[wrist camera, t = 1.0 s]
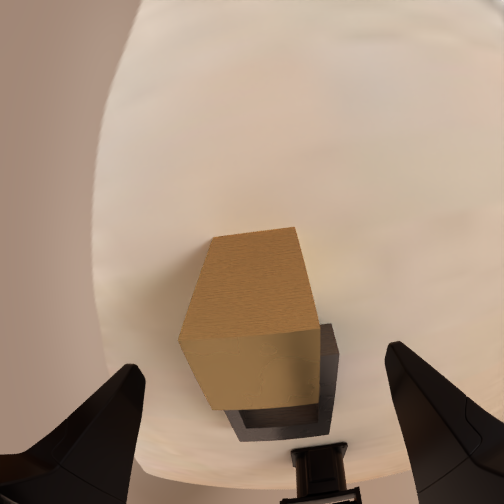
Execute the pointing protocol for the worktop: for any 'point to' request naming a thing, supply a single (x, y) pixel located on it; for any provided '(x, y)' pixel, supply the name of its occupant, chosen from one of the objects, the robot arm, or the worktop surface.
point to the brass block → (254, 324)
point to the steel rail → (295, 417)
